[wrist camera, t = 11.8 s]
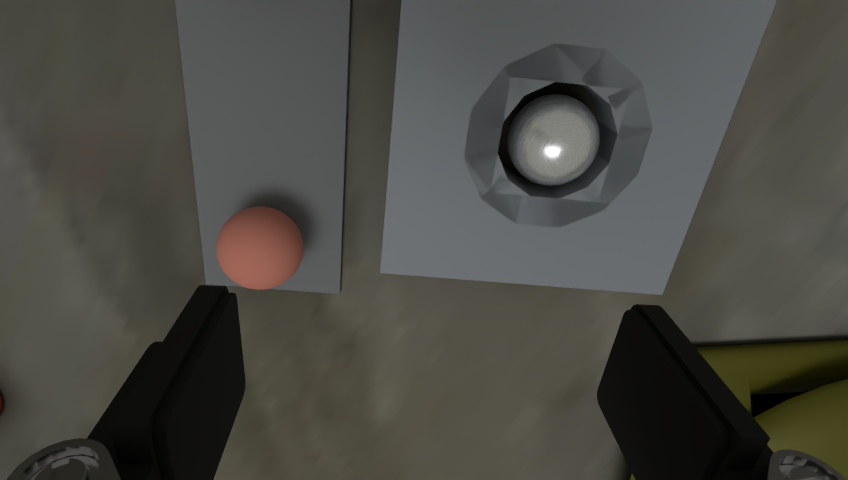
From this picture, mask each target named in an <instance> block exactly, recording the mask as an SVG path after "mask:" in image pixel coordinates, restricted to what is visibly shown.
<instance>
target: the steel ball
mask: <svg viewBox="0 0 848 480" xmlns="http://www.w3.org/2000/svg"><path fill="white" fill-rule="evenodd" d="M599 142H600V133H599V127H598V124H597V121H596V119H595V117H594V115H593V113H592V112H591V111H590V109H589V108H588V107H587V106H586V105H585V104H583V103H582V102H581V101H579V100H577V99H575V98H573V97H570V96H567V95H562V94H551V95H545V96H541V97H538V98H536V99H534V100H532V101H530V102H529V103H527V104H526V105H525V106H524V107H523V108H522V109H521V110H520V111H519V112H518V113H517V114H516V116H515V117H514V119H513V121H512V123H511V125H510V128H509V132H508V138H507V147H508V152H509V156H510V159H511V161H512V163H513V165H514V166H515V168H516V169H517V170H518V171H519V172H520V173H521V174H522V175H523V176H524V177H526V178H527V179H529V180H531V181H533V182H535V183H538V184H542V185H560V184H564V183H567V182H570V181H572V180H574V179H576V178H578V177H579V176H580V175H582V174H583V173H584V172H585V171H586V170H587V169H588V168H589V167H590V165H591V164H592V162H593V161H594V159H595V157H596V155H597V152H598V148H599Z"/></svg>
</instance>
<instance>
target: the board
mask: <svg viewBox="0 0 848 480" xmlns="http://www.w3.org/2000/svg"><path fill="white" fill-rule="evenodd" d="M776 1H777V0H402V1H401V13H400V26H399V39H398V52H397V65H396V77H395V90H394V103H393V116H392V129H391V141H390V154H389V167H388V180H387V192H386V205H385V218H384V231H383V244H382V256H381V269H380V273H387V274H400V275H413V276H425V277H438V278H451V279H464V280H477V281H490V282H503V283H516V284H528V285H541V286H554V287H567V288H580V289H593V290H606V291H619V292H632V293H644V294H657V295H662V294H663V291H664V289H665V286H666V284H667V281H668V278H669V276H670V273H671V271H672V268H673V266H674V263H675V261H676V258H677V255H678V253H679V250H680V248H681V245H682V243H683V240H684V237H685V235H686V232H687V230H688V227H689V225H690V222H691V219H692V217H693V214H694V212H695V209H696V207H697V204H698V201H699V199H700V196H701V194H702V191H703V189H704V186H705V183H706V181H707V178H708V176H709V173H710V171H711V168H712V166H713V163H714V160H715V158H716V155H717V153H718V150H719V148H720V145H721V142H722V140H723V137H724V135H725V132H726V130H727V127H728V124H729V122H730V119H731V117H732V114H733V112H734V109H735V106H736V104H737V101H738V99H739V96H740V94H741V91H742V89H743V86H744V83H745V81H746V78H747V76H748V73H749V71H750V68H751V65H752V63H753V60H754V58H755V55H756V53H757V50H758V47H759V45H760V42H761V40H762V37H763V35H764V32H765V29H766V27H767V24H768V22H769V19H770V17H771V14H772V12H773V9H774V6H775V4H776ZM554 82H562V83H571V84H579V85H580V86H582V87H583V88H584V89H585V90H586V91H587V92H589V93H590V95H591V98H592V102H593V106H594V109H595V113H596V117H597V120H598V121H597V124H598V127H599V133H600V142H599V148H598V152H597V155H596V157H595V159H594V161H593V162H592V164H591V165H590V167H589V168H588V169H587V170H586V171H585V172H584V173H583V174H582V175H580V176H579V177H578V178H576V179H574V180H572V181H570V182H567V183H564V184H560V185H542V184H538V183H535V182H533V181H531V180H529V179H527V178H520V177H518V176H516V175H515V174H514V173H512V172H511V171H510V170H508V169H507V168H506V167H504V166H503V165H502V163H501V161H500V158H499V155H498V148H499V142H500V137H501V131H502V126H503V122H504V120H505V119H506V118H507V117H508V115H509V114H510V113H511V112H512V110H513V109H514V108H515V107H516V105H517V104H518V103H519V102H520V100H521V99H522V98H523V97H524V96H525V95H527V94H529V93H531V92H534V91H536V90H538V89H540V88H543V87H545V86H547V85H549V84H552V83H554Z"/></svg>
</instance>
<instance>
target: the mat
mask: <svg viewBox="0 0 848 480" xmlns="http://www.w3.org/2000/svg"><path fill="white" fill-rule="evenodd" d="M175 6H176V15H177V25H178V34H179V43H180V52H181V61H182V70H183V79H184V88H185V97H186V107H187V116H188V125H189V134H190V143H191V152H192V161H193V170H194V179H195V188H196V198H197V207H198V216H199V225H200V234H201V243H202V252H203V261H204V270H205V280H206V284H212V285H226V286H239V287H243V286H241V285H239V284H237V283H235V282H234V281H232V280H231V279H230V278H229V277H228V276H227V275H226V274H225V273H224V272H223V270H222V268H221V267H220V265H219V262H218V259H217V254H216V242H217V238H218V235H219V232H220V230H221V228H222V227H223V225H224V224H225V222H226V221H227V220H228V219H229V218H230V217H232V216H233V215H234V214H236V213H238V212H239V211H241V210H244V209H247V208H251V207H269V208H273V209H276V210H279V211H281V212H282V213H284V214H286V215H287V216H288V217H289V218H291V219H292V220H293V222H294V223H295V224H296V225H297V227H298V229H299V230H300V233H301V235H302V239H303V246H304V250H303V257H302V261H301V263H300V265H299V267H298V269H297V271H296V272H295V273H294V274H293V275H292V277H290V278H289V279H288V280H287V281H285V282H284V283H282V284H281V285H279V286H276V287H273V288H269V289H280V290H293V291H307V292H320V293H334V294H340V287H341V259H342V232H343V204H344V176H345V149H346V121H347V94H348V66H349V38H350V11H351V0H175Z"/></svg>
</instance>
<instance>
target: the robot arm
mask: <svg viewBox="0 0 848 480" xmlns="http://www.w3.org/2000/svg"><path fill="white" fill-rule="evenodd" d="M244 391H245V373H244V363H243V353H242V344H241V334H240V325H239V315H238V305H237V297H236V294H235V293H229V292H228V289H227V287H226V286H207V285H200V286H199V287H198V288H197V289H196V291H195V292H194V294H193V295H192V297H191V298H190V300H189V302H188V303H187V305H186V306H185V308H184V309H183V311H182V312H181V314H180V316H179V317H178V319H177V320H176V322H175V323H174V325H173V327H172V328H171V330H170V331H169V333H168V334H167V336H166V337H165V339H164V341H163V342H154V343H152V344H151V345H150V346H149V347H148V348H147V350H146V351H145V353H144V354H143V356H142V357H141V359H140V360H139V362H138V363H137V365H136V366H135V368H134V369H133V371H132V372H131V374H130V375H129V377H128V378H127V380H126V381H125V383H124V384H123V386H122V387H121V389H120V390H119V392H118V393H117V394H116V396H115V397H114V399H113V400H112V402H111V403H110V405H109V406H108V408H107V409H106V411H105V412H104V414H103V415H102V417H101V418H100V420H99V421H98V423H97V424H96V426H95V427H94V429H93V430H92V432H91V433H90V435H89V436H88V438H87V439H82V438H78V439H72V440H65V441H62V442H59V443H56V444H53V445H50V446H48V447H46V448H44V449H42V450H40V451H38V452H36V453H35V454H33V455H31V456H30V457H29V458H28V459H26V460H25V461H24V462H22V463H21V464H20V465H19V466H18V467H17V468H16V469H15V470H14V471H13V472H12V474H11V475H10V476H9V477H8V479H7V480H213V479H214V476H215V473H216V470H217V468H218V465H219V462H220V459H221V457H222V454H223V451H224V448H225V446H226V443H227V440H228V437H229V435H230V432H231V429H232V426H233V423H234V421H235V418H236V415H237V412H238V410H239V407H240V404H241V401H242V399H243V395H244ZM597 400H598V404H599V406H600V408H601V410H602V412H603V415H604V417H605V419H606V421H607V423H608V425H609V427H610V429H611V431H612V433H613V435H614V437H615V439H616V441H617V443H618V445H619V447H620V449H621V451H622V453H623V455H624V457H625V459H626V462H627V464H628V466H629V468H630V470H631V472H632V474H633V476H634V478H635V480H846V479H845V478H844V477H843V476H842V475H841V474H840V473H839V472H838V471H836V470H835V469H834V468H832V467H831V466H830V465H828V464H826V463H825V462H823V461H821V460H819V459H818V458H816V457H814V456H811V455H809V454H806V453H803V452H800V451H795V450H790V449H786V450H778V451H777V452H775V453H774V452H773V451H772V450H771V449H770V447H769V446H768V445H767V444H768V442H769V440H770V439H771V438H770V437H769V436H768V435H767V433H766V432H765V431H764V430H763V429H762V427H761V426H760V425H759V424H758V423H757V421H756V420H755V419H754V418H753V417H752V415H751V414H750V413H749V412H748V411H747V409H746V408H745V407H744V406H743V404H742V403H741V402H740V401H739V400H738V398H737V397H736V396H735V395H734V394H733V392H732V391H731V390H730V389H729V388H728V386H727V385H726V384H725V383H724V382H723V380H722V379H721V378H720V377H719V376H718V374H717V373H716V372H715V371H714V370H713V368H712V367H711V366H710V365H709V364H708V362H707V361H706V360H705V359H704V358H703V356H702V355H701V354H700V353H699V352H698V350H697V349H696V348H695V347H694V346H693V344H692V343H691V342H690V341H689V339H688V338H687V337H686V336H685V335H684V333H683V332H682V331H681V330H680V329H679V327H678V326H677V325H676V324H675V323H674V321H673V320H672V319H671V318H670V317H669V315H668V314H667V313H666V312H665V311H664V309H663V308H662V307H660V306H658V305H638V304H636V305H634V306H633V307H632V308H631V310H627V311H626V312H625V313H624V315H623V318H622V321H621V324H620V327H619V329H618V332H617V335H616V338H615V341H614V344H613V347H612V350H611V353H610V355H609V358H608V361H607V364H606V367H605V370H604V373H603V376H602V379H601V382H600V384H599V387H598V391H597Z"/></svg>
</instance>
